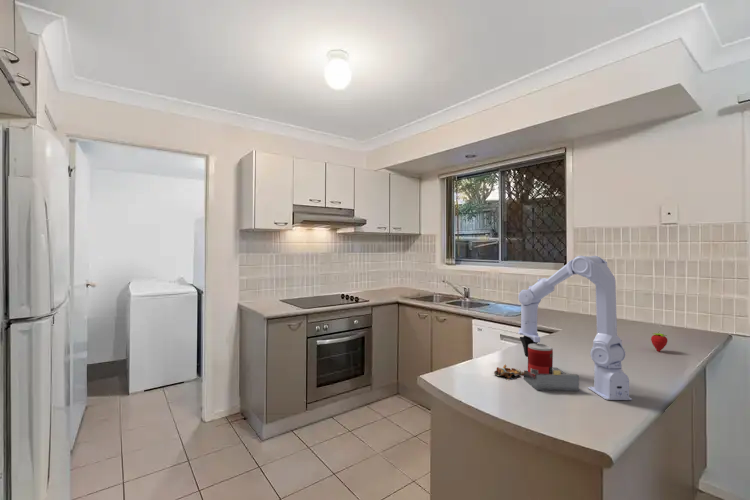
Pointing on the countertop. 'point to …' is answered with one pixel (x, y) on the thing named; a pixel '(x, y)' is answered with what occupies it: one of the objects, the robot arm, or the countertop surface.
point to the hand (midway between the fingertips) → (528, 356)
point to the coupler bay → (553, 381)
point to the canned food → (540, 359)
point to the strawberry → (659, 341)
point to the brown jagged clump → (508, 372)
